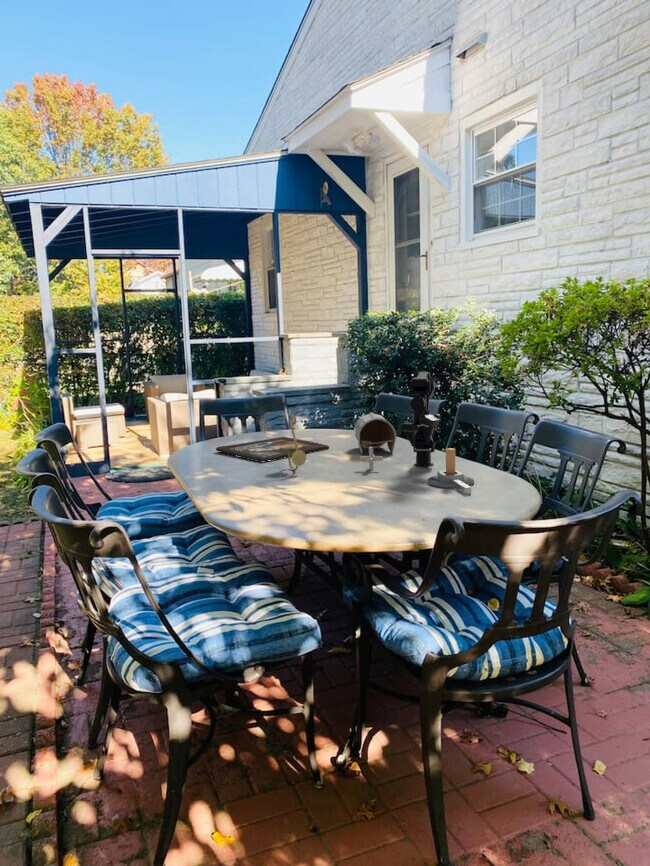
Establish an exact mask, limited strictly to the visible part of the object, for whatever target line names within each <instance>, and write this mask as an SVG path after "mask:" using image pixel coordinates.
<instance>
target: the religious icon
mask: <svg viewBox="0 0 650 866" xmlns="http://www.w3.org/2000/svg"><path fill="white" fill-rule="evenodd" d="M296 441H297V444H298V445H302V447H301V448H298V450H300V451H303V452H304V453H307V454H310V453H309V452H312V453H315V452H314V451H317V452H320V451H319V450H322V451H325V450H324V449H327V450H329V449H330V446H329V445H328V444H322V443H319V442H314V441H311V440H310V441H309V440H305V439H304V440H303V439H299V438H296ZM289 444H295V442H294V438H292V437H286V436H280V437H275V438H268V439H262V440H255V441H249V442H242V443H237V444H236V443H235V444H230V445H229V444H228V445H220V446H217V447H216V448H215V451H217V452H218V451H221V452H220V453H222V452H224V453H223V454H225V453H228V454H227V455H229V454H232V455H231V456H233V455H237V456H241V457H244V458H243V459H245V458H249V459H253V460H257V461H268V460H274V459H279V460H281V459H280V458H284V457H288V451H289V449H283V448H281V446H283V445H289ZM293 450H294V451H295V452H296V449H293ZM292 454H293V452H292ZM237 456H236V457H237ZM290 456H291V452H290ZM249 459H248V460H249ZM284 459H285V458H284ZM253 460H252V461H253ZM257 461H256V462H257ZM274 461H275V460H274Z"/></svg>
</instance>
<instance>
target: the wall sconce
mask: <svg viewBox="0 0 650 866" xmlns="http://www.w3.org/2000/svg"><path fill="white" fill-rule="evenodd" d="M289 419H290V420H289V422H290V429H291V433H292V437H293V438H294V442H295V444H289V445H283V446H281V448H283V449H289V451H288V458H287V459H288V460H287V462H288V465H289V468H290V469H291V470H292V471H293V470H294V471H293V472H296V471H297V470H298V468H299V467H300V466H303V465H304V464H305V463H306V461H307V454H305V453H304V452H303V451H300V450H298V448H301V447H302V445H298V444H297V441H296V439H297V437H296V435H295V434H296V433H295V431H294V426H293V425H295V426H296V424H297V417H296V416H295V415H294V414H293V415H291V416H290V418H289ZM293 449H296V452H295V451H294V450H293ZM290 452H291V456H292V457H290ZM292 452H293V454H292ZM292 463H293V465H295V468H294V467H293V465H292Z"/></svg>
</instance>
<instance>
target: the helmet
mask: <svg viewBox="0 0 650 866" xmlns="http://www.w3.org/2000/svg"><path fill="white" fill-rule="evenodd" d="M354 429H355V430H354V436H355V438H356V440H357V441H358V445H357V446H358V448H359V451H360V454H361V455H363V452H364V451H363V449H364V448H365V449H368V450H369V447H373V448H375V449H378V448H380V447H383V446H384V445H385V444H386V445H387V448H388V449H389V453H391V452H392V453H394V449H395V445H396V444H395V443H396V442H397V441H396V440H397V433H396V429H395V427H394V425H393V424H392V423H391V422H389V420H387V419H385V418H384V416H382V415H380V414H376V413H374V412H369V413H368V414H365V415H362V416H361V417H359V418H358V419H357V421H356V423H355V425H354ZM392 453H391V454H392Z"/></svg>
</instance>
